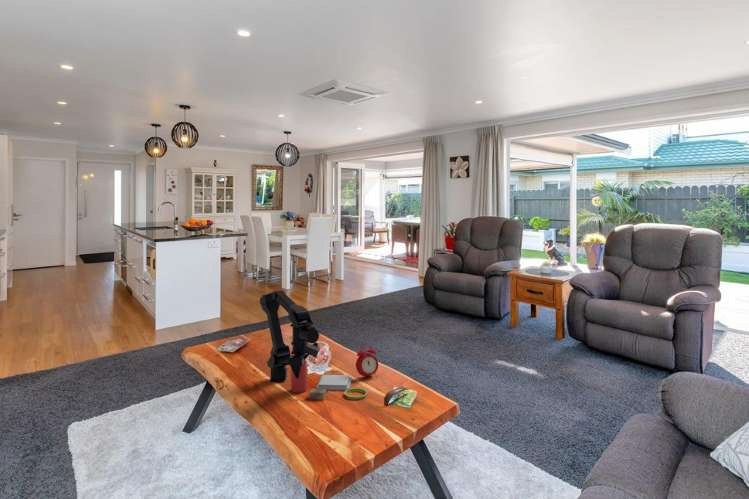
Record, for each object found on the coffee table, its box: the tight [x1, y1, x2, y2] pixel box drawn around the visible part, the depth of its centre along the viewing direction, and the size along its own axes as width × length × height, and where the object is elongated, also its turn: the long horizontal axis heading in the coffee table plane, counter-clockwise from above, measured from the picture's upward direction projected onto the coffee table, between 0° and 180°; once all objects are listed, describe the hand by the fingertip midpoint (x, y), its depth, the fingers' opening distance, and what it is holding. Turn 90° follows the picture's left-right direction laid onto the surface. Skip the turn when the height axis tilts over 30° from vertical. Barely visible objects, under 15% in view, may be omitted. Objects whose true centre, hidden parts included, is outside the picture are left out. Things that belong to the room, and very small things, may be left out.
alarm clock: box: [355, 343, 379, 380], centre depth 192 cm, size 10×6×15 cm, turn 117°
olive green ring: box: [343, 387, 368, 401], centre depth 170 cm, size 9×9×9 cm
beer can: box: [290, 360, 308, 394], centre depth 175 cm, size 7×7×12 cm
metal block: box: [308, 388, 327, 401], centre depth 168 cm, size 6×4×3 cm, turn 83°
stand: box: [315, 374, 353, 392], centre depth 182 cm, size 14×14×2 cm
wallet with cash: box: [383, 385, 409, 406], centre depth 172 cm, size 15×3×8 cm, turn 139°
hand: (299, 375), depth 175 cm, fingers closed on beer can, 7 cm apart
